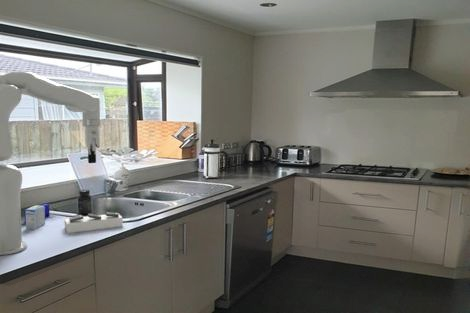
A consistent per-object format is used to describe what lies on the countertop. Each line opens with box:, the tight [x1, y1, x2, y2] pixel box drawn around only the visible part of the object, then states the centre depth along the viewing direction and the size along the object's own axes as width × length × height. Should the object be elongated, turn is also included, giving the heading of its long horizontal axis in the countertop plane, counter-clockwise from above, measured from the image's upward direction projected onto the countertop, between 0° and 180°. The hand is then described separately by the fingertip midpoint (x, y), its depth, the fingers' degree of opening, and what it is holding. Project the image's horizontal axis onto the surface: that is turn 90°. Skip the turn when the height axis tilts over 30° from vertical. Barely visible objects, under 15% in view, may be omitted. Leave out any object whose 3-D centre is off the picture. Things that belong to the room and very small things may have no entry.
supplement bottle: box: [76, 188, 93, 217], centre depth 193 cm, size 7×7×12 cm
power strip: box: [64, 214, 123, 234], centre depth 174 cm, size 23×8×4 cm, turn 120°
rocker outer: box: [104, 211, 120, 217], centre depth 176 cm, size 5×3×1 cm, turn 120°
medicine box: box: [25, 204, 46, 230], centre depth 172 cm, size 8×4×9 cm, turn 178°
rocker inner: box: [68, 215, 84, 222], centre depth 168 cm, size 5×3×1 cm, turn 120°
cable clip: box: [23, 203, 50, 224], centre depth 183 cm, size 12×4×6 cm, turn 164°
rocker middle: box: [87, 213, 101, 219], centre depth 172 cm, size 5×3×1 cm, turn 120°
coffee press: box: [201, 139, 229, 180], centre depth 301 cm, size 17×16×30 cm
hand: (92, 162), depth 182 cm, fingers closed
